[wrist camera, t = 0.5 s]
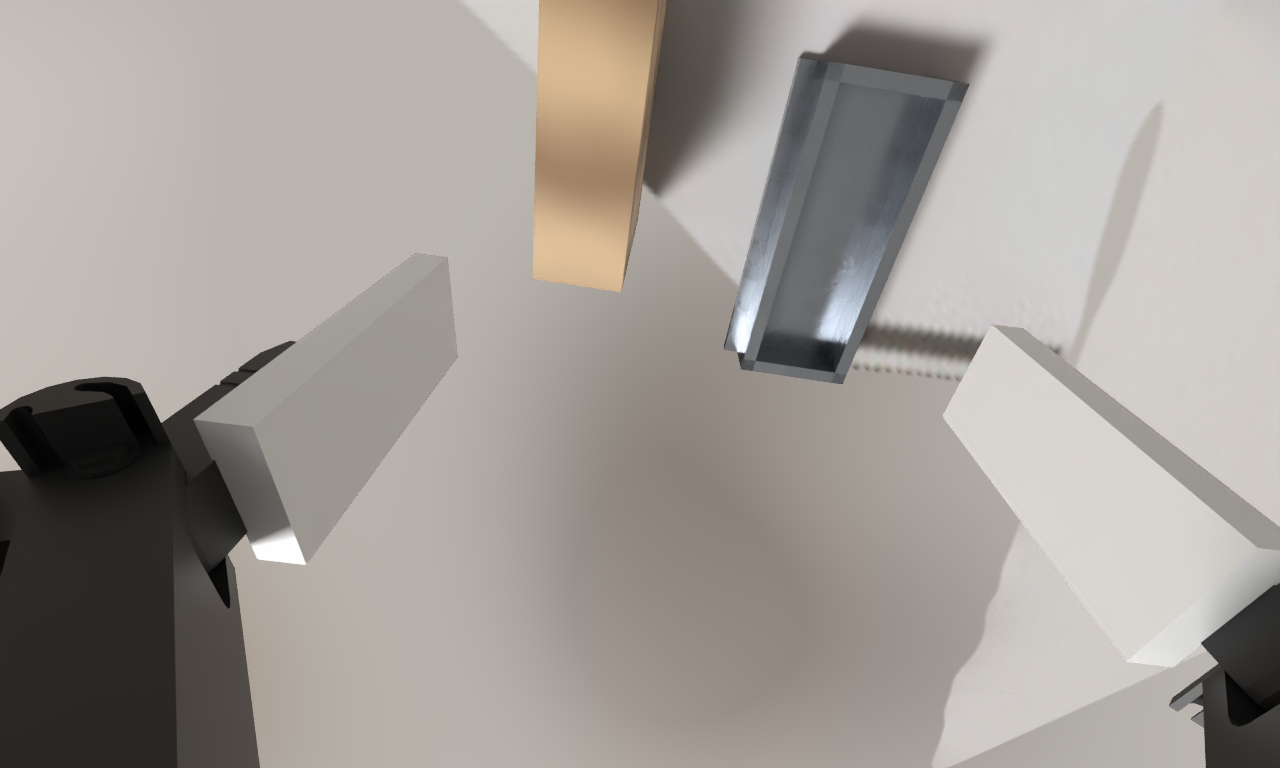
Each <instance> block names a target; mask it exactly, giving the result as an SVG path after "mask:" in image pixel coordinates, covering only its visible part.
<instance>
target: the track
mask: <svg viewBox="0 0 1280 768" xmlns="http://www.w3.org/2000/svg"><path fill="white" fill-rule="evenodd" d="M968 86H969V84H965V83H959V82H953V81H947V80H941V79H935V78H929V77H923V76H917V75H911V74H905V73H899V72H893V71H887V70H881V69H875V68H869V67H863V66H857V65H851V64H845V63H839V62H833V61H816V60H810V59H804V58H798V62H797V66H796V70H795V74H794V78H793V81H792V85H791V89H790V93H789V97H788V101H787V105H786V108H785V112H784V116H783V120H782V124H781V128H780V132H779V135H778V139H777V143H776V147H775V151H774V155H773V159H772V162H771V166H770V170H769V174H768V178H767V182H766V186H765V189H764V193H763V197H762V201H761V205H760V209H759V213H758V216H757V220H756V224H755V228H754V232H753V236H752V239H751V243H750V247H749V251H748V255H747V259H746V263H745V266H744V270H743V274H742V278H741V282H740V286H739V290H738V293H737V298H736V301H735V305H734V309H733V313H732V317H731V321H730V324H729V328H728V332H727V336H726V340H725V344H724V349H725V350H731V351H737V353H738V357H739V362H740V367H741V369H743V370H750V371H757V372H763V373H771V374H777V375H784V376H790V377H797V378H804V379H811V380H818V381H824V382H830V383H837V384H843V381H844V379H845V377H846V374H847V372H848V370H849V367H850V365H851V363H852V360H853V358H854V356H855V353H856V351H857V349H858V346H859V344H860V341H861V339H862V337H863V334H864V332H865V330H866V327H867V325H868V323H869V320H870V318H871V315H872V313H873V311H874V308H875V306H876V304H877V301H878V299H879V297H880V294H881V292H882V289H883V287H884V285H885V282H886V280H887V278H888V275H889V273H890V271H891V268H892V266H893V263H894V261H895V259H896V256H897V254H898V252H899V249H900V247H901V245H902V242H903V240H904V237H905V235H906V233H907V230H908V228H909V226H910V223H911V221H912V219H913V216H914V214H915V211H916V209H917V207H918V204H919V202H920V200H921V197H922V195H923V193H924V190H925V188H926V186H927V183H928V181H929V178H930V176H931V174H932V171H933V169H934V167H935V164H936V162H937V160H938V157H939V155H940V152H941V150H942V148H943V145H944V143H945V141H946V138H947V136H948V134H949V131H950V129H951V126H952V124H953V122H954V119H955V117H956V115H957V112H958V110H959V108H960V105H961V103H962V100H963V98H964V96H965V93H966V91H967V89H968Z"/></svg>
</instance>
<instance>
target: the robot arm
mask: <svg viewBox="0 0 1280 768" xmlns="http://www.w3.org/2000/svg"><path fill="white" fill-rule="evenodd" d="M457 357H458V355H457V345H456V335H455V325H454V315H453V305H452V296H451V285H450V275H449V266H448V257H444V256H443V257H442V256H435V255H427V254H419V253H415V254H414V255H412V256H411V257H410V258H408V259H407V260H406V261H404V262H403V263H402V264H400V265H399V266H398V267H396V268H395V269H394V270H392V271H391V272H390V273H388V274H387V275H386V276H385V277H383V278H382V279H380V280H379V281H378V282H376V283H375V284H374V285H372V286H371V287H370V288H368V289H367V290H366V291H364V292H363V293H362V294H360V295H359V296H358V297H356V298H355V299H354V300H352V301H351V302H349V303H348V304H347V305H346V306H344V307H343V308H341V309H340V310H339V311H337V312H336V313H335V314H333V315H332V316H331V317H330V318H328V319H327V320H326V321H324V322H323V323H321V324H320V325H319V326H317V327H316V328H315V329H313V330H312V331H311V332H309V333H308V334H307V335H305V336H304V337H303V338H301V339H300V340H299V341H297V342H294V341H289V342H286V343H284V344H281V345H279V346H276V347H274V348H271V349H269V350H266V351H264V352H261V353H260V354H258V355H257V356H255V357H254V358H253V359H251V360H250V361H248V362H247V363H245V364H244V365H243V366H241V367H240V368H239V371H238V372H233V373H231V374H230V375H229V376H227V377H226V378H224V379H223V380H221V381H220V385H214V386H213V387H212V388H210V389H209V390H207V391H206V392H204V393H203V394H202V395H200V396H199V397H197V398H196V399H195V400H193V401H192V402H190V403H189V404H188V405H186V406H185V407H183V408H182V409H181V410H179V411H178V412H176V413H175V414H173V415H172V416H171V417H169V418H168V419H166V420H165V421H164V422H162V423H161V422H160V420H159V418H158V416H157V414H156V412H155V410H154V408H153V406H152V404H151V402H150V401H149V398H148V396H147V394H146V392H145V391H144V389H143V387H142V385H141V384H140V383H138V382H136V381H133V380H130V379H127V378H116V377H98V378H89V379H81V380H74V381H70V382H66V383H62V384H58V385H54V386H50V387H47V388H44V389H41V390H39V391H36V392H33V393H31V394H28V395H26V396H23V397H20V398H19V399H17V400H15V401H14V402H12V403H11V404H9V405H7V406H5V407H4V408H2V409H0V441H1V442H2V443H3V445H4V446H5V447H6V449H7V450H8V451H9V453H10V454H11V455H12V457H13V458H14V460H15V461H16V462H17V463H18V465H19V466H20V468H21V469H22V470H16V471H5V472H0V768H260V765H259V757H258V749H257V742H256V733H255V726H254V717H253V709H252V701H251V693H250V686H249V678H248V670H247V662H246V654H245V646H244V638H243V630H242V622H241V614H240V606H239V599H238V590H237V583H236V575H235V568H234V566H233V564H232V562H231V560H230V558H229V556H228V553H229V552H230V551H231V550H232V549H233V547H235V545H236V544H237V543H238V542H239V541H240V540H241V539H242V538H243V537H244V535H245V534H246V535H247V537H248V539H249V541H250V543H251V546H252V548H253V550H254V552H255V554H256V557H257V558H258V559H261V560H269V561H278V562H286V563H294V564H303V565H307V563H308V562H309V560H310V559H311V558H312V556H313V555H314V554H315V552H316V551H317V550H318V548H319V547H320V545H321V544H322V543H323V541H324V540H325V539H326V537H327V536H328V534H329V533H330V532H331V530H332V529H333V527H334V526H335V525H336V523H337V522H338V521H339V519H340V518H341V517H342V515H343V514H344V512H345V511H346V510H347V508H348V507H349V505H350V504H351V503H352V501H353V500H354V499H355V497H356V496H357V495H358V493H359V492H360V490H361V489H362V488H363V486H364V485H365V484H366V482H367V481H368V479H369V478H370V477H371V475H372V474H373V473H374V471H375V470H376V468H377V467H378V466H379V464H380V463H381V461H382V460H383V459H384V458H385V456H386V455H387V453H388V452H389V451H390V449H391V448H392V446H393V445H394V444H395V442H396V441H397V440H398V438H399V437H400V435H401V434H402V433H403V431H404V430H405V429H406V427H407V426H408V424H409V423H410V422H411V420H412V419H413V418H414V416H415V415H416V414H417V412H418V411H419V409H420V408H421V407H422V405H423V404H424V403H425V401H426V400H427V398H428V397H429V396H430V394H431V393H432V392H433V390H434V389H435V387H436V386H437V385H438V383H439V382H440V381H441V379H442V378H443V377H444V375H445V374H446V372H447V371H448V369H449V368H450V367H451V366H452V364H453V363H454V361H455V360H456V359H457ZM943 418H944V419H945V420H946V422H947V423H948V424H949V426H950V427H951V428H952V430H953V431H954V432H955V434H956V435H957V436H958V438H959V439H960V440H961V442H962V443H963V444H964V446H965V447H966V448H967V450H968V451H969V452H970V454H971V455H972V456H973V458H974V459H975V460H976V462H977V463H978V464H979V466H980V467H981V468H982V470H983V471H984V473H985V474H986V475H987V477H988V478H989V479H990V481H991V482H992V483H993V484H994V486H995V487H996V489H997V490H998V491H999V493H1000V494H1001V495H1002V497H1003V498H1004V499H1005V501H1006V502H1007V503H1008V505H1009V506H1010V507H1011V509H1012V510H1013V511H1014V512H1015V514H1016V515H1017V517H1018V518H1019V519H1020V521H1021V522H1022V523H1023V525H1024V526H1025V527H1026V529H1027V530H1028V531H1029V533H1030V534H1031V535H1032V537H1033V538H1034V539H1035V541H1036V542H1037V543H1038V545H1039V546H1040V547H1041V549H1042V550H1043V551H1044V553H1045V554H1046V555H1047V557H1048V558H1049V559H1050V561H1051V562H1052V563H1053V565H1054V566H1055V567H1056V569H1057V570H1058V571H1059V573H1060V574H1061V575H1062V577H1063V578H1064V579H1065V581H1066V582H1067V583H1068V585H1069V586H1070V587H1071V589H1072V590H1073V591H1074V593H1075V594H1076V595H1077V597H1078V598H1079V599H1080V601H1081V602H1082V603H1083V605H1084V606H1085V607H1086V609H1087V610H1088V611H1089V613H1090V614H1091V616H1092V617H1093V618H1094V620H1095V621H1096V622H1097V624H1098V625H1099V626H1100V628H1101V629H1102V630H1103V632H1104V633H1105V634H1106V636H1107V637H1108V638H1109V640H1110V641H1111V642H1112V644H1113V645H1114V646H1115V648H1116V649H1117V650H1118V652H1119V653H1120V654H1121V656H1122V657H1123V658H1124V660H1125V661H1126V662H1133V663H1142V664H1150V665H1158V666H1167V667H1174V666H1175V665H1177V664H1178V663H1179V662H1180V661H1182V660H1183V659H1184V658H1185V657H1187V656H1188V655H1189V654H1190V653H1192V652H1193V651H1194V650H1196V649H1197V648H1198V647H1199V646H1201V645H1203V646H1204V648H1205V649H1206V650H1207V651H1208V652H1209V653H1210V654H1211V655H1212V656H1213V657H1214V659H1215V660H1216V661H1217V662H1218V663H1219V664H1218V665H1216V666H1215V667H1213V668H1212V669H1211V670H1209V671H1208V672H1207V673H1205V674H1204V675H1203V676H1201V677H1200V678H1199V679H1197V680H1196V681H1195V682H1193V683H1192V684H1191V685H1189V686H1188V687H1186V688H1185V689H1184V690H1182V691H1181V692H1180V693H1178V694H1177V695H1176V696H1174V697H1173V698H1172V700H1171V702H1170V705H1169V706H1170V707H1171V708H1173V709H1174V710H1176V711H1179V710H1181V709H1182V708H1184V707H1185V706H1186V705H1188V704H1189V703H1196V704H1198V705H1201V706H1203V710H1202V711H1201V712H1199V713H1198V714H1196V715H1195V716H1193V717H1192V718H1191V720H1192V721H1194V722H1196V723H1197V724H1199V725H1201V726H1202V727H1204V734H1205V758H1206V768H1280V527H1279V526H1277V525H1276V524H1275V523H1274V522H1272V521H1271V520H1270V519H1268V518H1267V517H1266V516H1265V515H1263V514H1262V513H1261V512H1259V511H1258V510H1257V509H1256V508H1254V507H1253V506H1252V505H1250V504H1249V503H1248V502H1246V501H1245V500H1244V499H1243V498H1241V497H1240V496H1239V495H1237V494H1236V493H1235V492H1234V491H1232V490H1231V489H1230V488H1228V487H1227V486H1226V485H1225V484H1223V483H1222V482H1221V481H1219V480H1218V479H1217V478H1215V477H1214V476H1213V475H1212V474H1210V473H1209V472H1208V471H1206V470H1205V469H1204V468H1203V467H1201V466H1200V465H1199V464H1197V463H1196V462H1195V461H1194V460H1192V459H1191V458H1190V457H1188V456H1187V455H1186V454H1185V453H1183V452H1182V451H1181V450H1179V449H1178V448H1177V447H1175V446H1174V445H1173V444H1172V443H1170V442H1169V441H1168V440H1166V439H1165V438H1164V437H1163V436H1161V435H1160V434H1159V433H1157V432H1156V431H1155V430H1154V429H1152V428H1151V427H1150V426H1148V425H1147V424H1146V423H1144V422H1143V421H1142V420H1141V419H1139V418H1138V417H1137V416H1135V415H1134V414H1133V413H1132V412H1130V411H1129V410H1128V409H1126V408H1125V407H1124V406H1123V405H1121V404H1120V403H1119V402H1117V401H1116V400H1115V399H1114V398H1112V397H1111V396H1110V395H1108V394H1107V393H1106V392H1104V391H1103V390H1102V389H1101V388H1099V387H1098V386H1097V385H1095V384H1094V383H1093V382H1092V381H1090V380H1089V379H1088V378H1086V377H1085V376H1084V375H1083V374H1081V373H1080V372H1079V371H1077V370H1076V369H1075V368H1073V367H1072V366H1071V365H1069V364H1068V363H1067V362H1066V361H1064V360H1063V359H1062V358H1061V357H1059V356H1058V355H1057V354H1055V353H1054V352H1053V351H1052V350H1050V349H1049V348H1048V347H1046V346H1045V345H1044V344H1043V343H1041V342H1040V341H1039V340H1037V339H1036V338H1035V337H1033V336H1032V335H1031V334H1030V333H1028V332H1027V331H1026V330H1024V329H1023V328H1016V327H1008V326H1000V325H991V327H990V328H989V330H988V332H987V334H986V336H985V338H984V340H983V341H982V343H981V345H980V347H979V349H978V351H977V353H976V354H975V356H974V358H973V360H972V362H971V364H970V366H969V368H968V369H967V371H966V373H965V375H964V377H963V379H962V381H961V382H960V384H959V386H958V388H957V390H956V392H955V394H954V396H953V397H952V400H951V401H950V403H949V405H948V407H947V409H946V411H945V413H944V414H943Z"/></svg>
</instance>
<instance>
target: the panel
mask: <svg viewBox="0 0 1280 768" xmlns="http://www.w3.org/2000/svg"><path fill="white" fill-rule="evenodd" d="M666 5H667V0H539V38H538V79H537V119H536V122H537V123H536V161H535V200H534V240H533V279H539V280H545V281H551V282H558V283H565V284H571V285H578V286H584V287H591V288H597V289H604V290H610V291H617V292H621V291H622V287H623V282H624V278H625V274H626V269H627V265H628V260H629V256H630V251H631V247H632V243H633V238H634V234H635V230H636V225H637V221H638V213H639V206H640V199H641V190H642V184H643V176H644V169H645V161H646V154H647V146H648V139H649V131H650V124H651V117H652V109H653V102H654V94H655V87H656V79H657V72H658V64H659V57H660V49H661V42H662V34H663V27H664V20H665V12H666Z"/></svg>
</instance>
